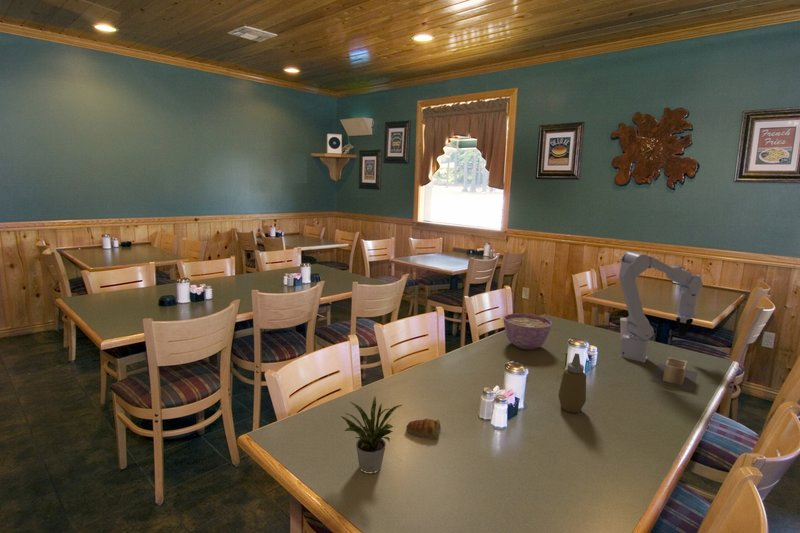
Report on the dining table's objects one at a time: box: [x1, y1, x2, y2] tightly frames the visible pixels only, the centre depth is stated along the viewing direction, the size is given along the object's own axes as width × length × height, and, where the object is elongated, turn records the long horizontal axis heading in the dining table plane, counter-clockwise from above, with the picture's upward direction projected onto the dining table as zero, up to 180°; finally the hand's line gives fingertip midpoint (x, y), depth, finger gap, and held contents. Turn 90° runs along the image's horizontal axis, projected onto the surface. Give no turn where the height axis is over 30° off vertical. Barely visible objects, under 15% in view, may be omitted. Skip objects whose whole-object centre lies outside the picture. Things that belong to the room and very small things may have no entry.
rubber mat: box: [649, 362, 698, 392], centre depth 168 cm, size 13×21×1 cm, turn 144°
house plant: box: [340, 395, 403, 472], centre depth 108 cm, size 14×14×16 cm
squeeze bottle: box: [558, 353, 587, 414], centre depth 140 cm, size 8×8×18 cm
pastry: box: [406, 418, 442, 440], centre depth 125 cm, size 9×7×4 cm
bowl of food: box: [503, 313, 553, 350], centre depth 194 cm, size 20×20×12 cm
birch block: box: [663, 356, 688, 385], centre depth 166 cm, size 6×6×10 cm
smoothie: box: [619, 317, 629, 341], centre depth 207 cm, size 6×6×14 cm
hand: (681, 335), depth 186 cm, fingers closed
